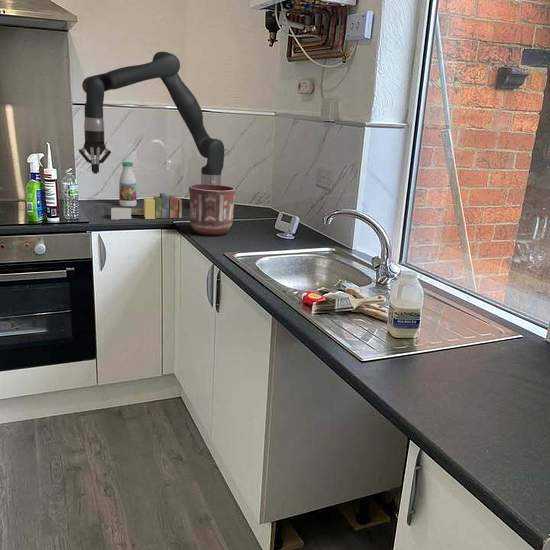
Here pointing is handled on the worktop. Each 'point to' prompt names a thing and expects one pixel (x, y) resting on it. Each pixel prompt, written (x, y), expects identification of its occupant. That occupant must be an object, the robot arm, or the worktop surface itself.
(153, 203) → the butter yellow brick
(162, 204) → the row of books
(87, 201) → the worktop surface
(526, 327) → the worktop surface
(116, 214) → the off-white matte block
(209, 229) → the pottery
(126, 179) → the milk bottle
